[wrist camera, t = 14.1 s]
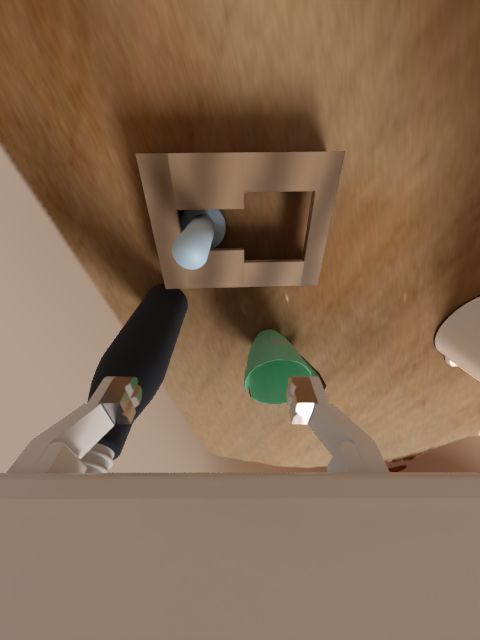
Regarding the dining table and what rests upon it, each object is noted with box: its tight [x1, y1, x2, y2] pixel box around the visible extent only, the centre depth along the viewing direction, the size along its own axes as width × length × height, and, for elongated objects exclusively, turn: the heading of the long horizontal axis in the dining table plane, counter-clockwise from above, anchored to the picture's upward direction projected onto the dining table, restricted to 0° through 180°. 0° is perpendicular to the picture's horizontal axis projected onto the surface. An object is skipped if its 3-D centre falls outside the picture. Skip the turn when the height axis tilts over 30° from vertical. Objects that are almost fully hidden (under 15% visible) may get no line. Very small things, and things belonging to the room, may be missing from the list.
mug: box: [244, 329, 326, 404], centre depth 36 cm, size 15×10×10 cm
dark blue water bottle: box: [80, 284, 188, 473], centre depth 22 cm, size 6×6×30 cm
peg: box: [172, 209, 226, 270], centre depth 23 cm, size 6×6×12 cm
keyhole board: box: [136, 151, 345, 289], centre depth 26 cm, size 20×14×4 cm
